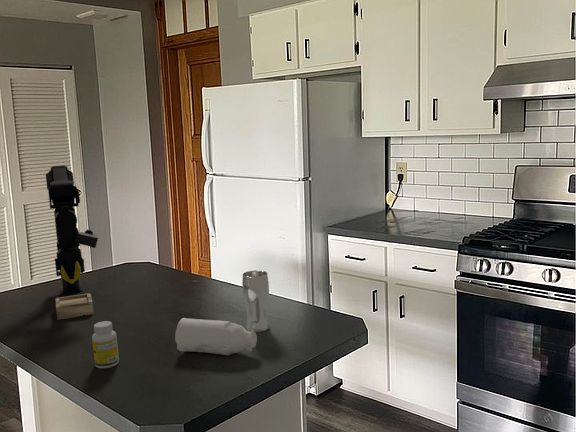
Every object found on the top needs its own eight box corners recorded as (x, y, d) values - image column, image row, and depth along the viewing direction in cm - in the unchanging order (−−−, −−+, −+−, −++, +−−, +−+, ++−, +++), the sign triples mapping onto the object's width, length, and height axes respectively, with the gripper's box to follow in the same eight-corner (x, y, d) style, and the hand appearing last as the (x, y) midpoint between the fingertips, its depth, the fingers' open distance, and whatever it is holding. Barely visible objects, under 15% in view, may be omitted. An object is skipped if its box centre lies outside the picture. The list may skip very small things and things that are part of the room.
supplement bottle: (98, 360, 134) (94, 320, 133) (121, 358, 135) (117, 319, 133) (92, 370, 129) (88, 328, 128) (116, 368, 130) (112, 327, 128)
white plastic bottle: (249, 363, 129) (247, 330, 128) (175, 356, 135) (172, 324, 134) (261, 350, 137) (259, 318, 136) (190, 343, 143) (188, 313, 141)
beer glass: (274, 324, 153) (272, 270, 151) (265, 334, 147) (262, 277, 144) (250, 322, 156) (247, 269, 153) (240, 331, 149) (237, 276, 147)
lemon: (75, 286, 167) (72, 260, 165) (58, 286, 168) (55, 259, 166) (85, 281, 172) (83, 255, 171) (69, 280, 173) (66, 255, 172)
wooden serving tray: (56, 309, 174) (55, 298, 173) (91, 304, 178) (90, 293, 177) (57, 319, 165) (56, 307, 164) (93, 314, 168) (92, 301, 168)
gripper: (97, 227, 161) (102, 280, 164) (92, 218, 178) (97, 266, 181) (55, 231, 157) (61, 286, 160) (54, 221, 174) (59, 271, 177)
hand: (71, 276), depth 169 cm, fingers closed on lemon, 5 cm apart
